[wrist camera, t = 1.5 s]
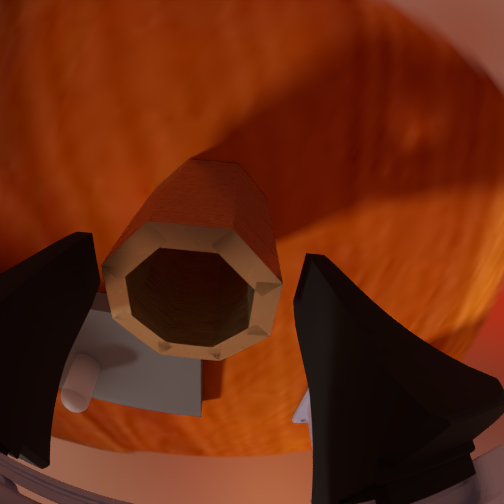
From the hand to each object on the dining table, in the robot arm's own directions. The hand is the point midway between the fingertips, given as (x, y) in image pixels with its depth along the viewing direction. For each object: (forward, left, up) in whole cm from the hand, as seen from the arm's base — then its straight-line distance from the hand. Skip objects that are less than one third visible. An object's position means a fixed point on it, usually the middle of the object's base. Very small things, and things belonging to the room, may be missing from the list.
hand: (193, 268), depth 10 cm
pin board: (+8, +11, -4) cm, 14 cm away
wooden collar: (0, 0, -4) cm, 4 cm away
